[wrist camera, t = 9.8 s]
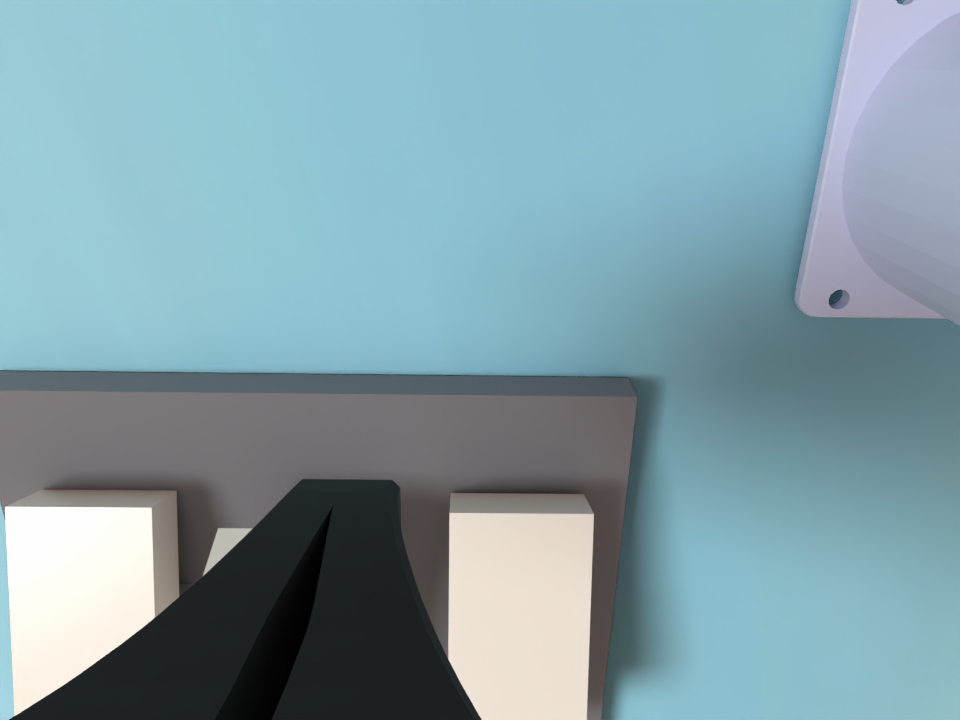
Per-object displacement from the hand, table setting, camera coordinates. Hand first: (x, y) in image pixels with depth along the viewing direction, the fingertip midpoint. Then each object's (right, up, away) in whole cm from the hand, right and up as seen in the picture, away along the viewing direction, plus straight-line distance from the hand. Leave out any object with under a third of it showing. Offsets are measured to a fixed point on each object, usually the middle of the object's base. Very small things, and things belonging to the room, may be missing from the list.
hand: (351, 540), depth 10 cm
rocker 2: (+3, -5, +10) cm, 11 cm away
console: (-3, -4, +12) cm, 13 cm away
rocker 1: (-8, -5, +9) cm, 13 cm away
